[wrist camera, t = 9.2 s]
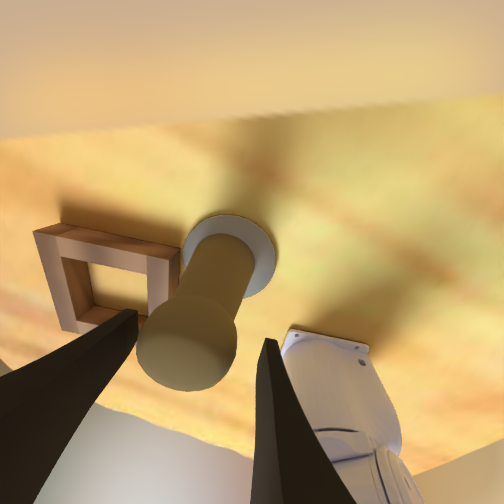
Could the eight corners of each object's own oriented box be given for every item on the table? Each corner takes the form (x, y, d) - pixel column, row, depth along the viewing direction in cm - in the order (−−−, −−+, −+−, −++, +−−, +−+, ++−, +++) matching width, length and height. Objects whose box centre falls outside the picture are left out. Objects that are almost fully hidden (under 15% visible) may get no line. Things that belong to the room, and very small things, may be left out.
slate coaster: (286, 226, 18) (286, 228, 17) (264, 303, 22) (264, 307, 21) (187, 204, 18) (185, 206, 17) (183, 286, 22) (180, 289, 21)
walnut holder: (180, 248, 20) (168, 260, 17) (176, 334, 25) (167, 351, 22) (59, 222, 19) (32, 231, 17) (80, 314, 25) (61, 330, 22)
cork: (196, 226, 18) (105, 310, 8) (261, 241, 18) (252, 342, 8) (190, 281, 20) (117, 396, 11) (248, 294, 21) (228, 419, 11)
